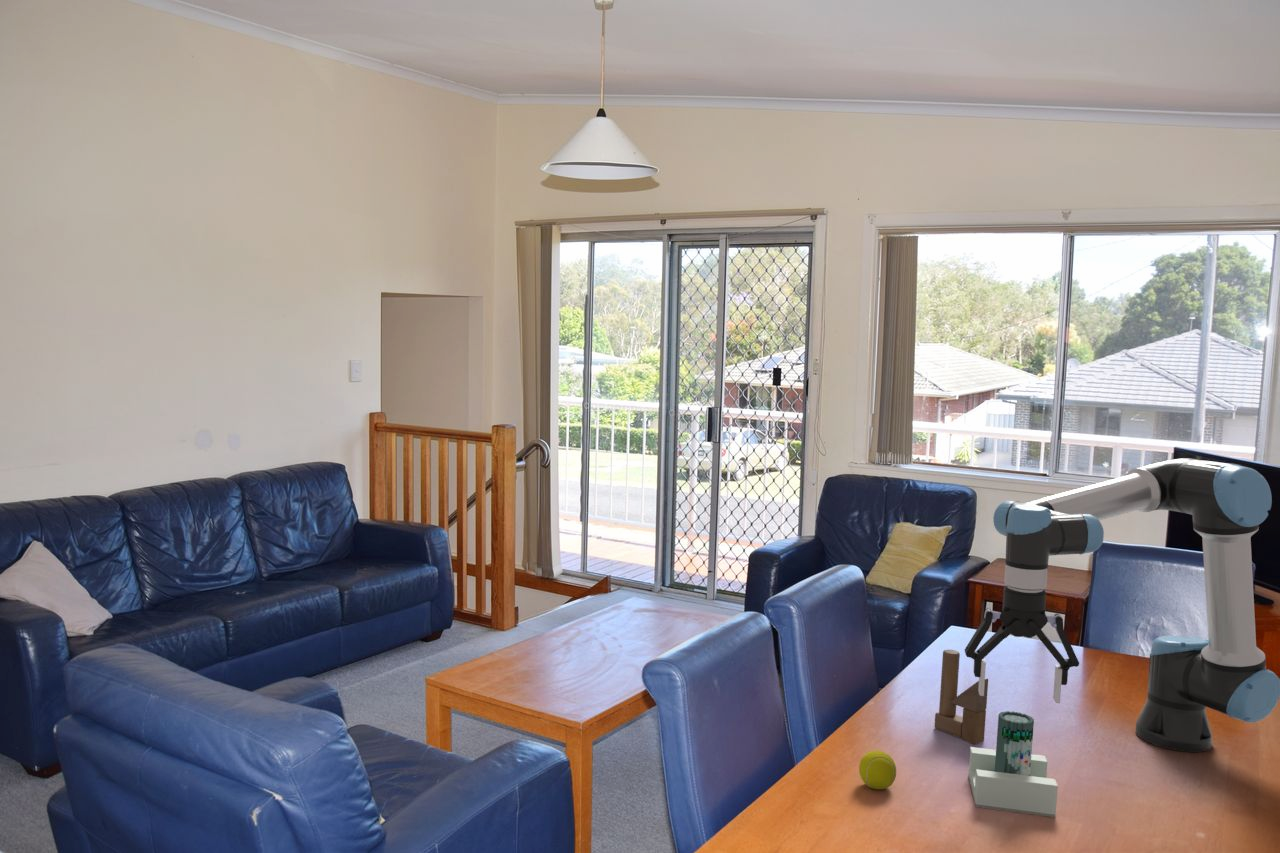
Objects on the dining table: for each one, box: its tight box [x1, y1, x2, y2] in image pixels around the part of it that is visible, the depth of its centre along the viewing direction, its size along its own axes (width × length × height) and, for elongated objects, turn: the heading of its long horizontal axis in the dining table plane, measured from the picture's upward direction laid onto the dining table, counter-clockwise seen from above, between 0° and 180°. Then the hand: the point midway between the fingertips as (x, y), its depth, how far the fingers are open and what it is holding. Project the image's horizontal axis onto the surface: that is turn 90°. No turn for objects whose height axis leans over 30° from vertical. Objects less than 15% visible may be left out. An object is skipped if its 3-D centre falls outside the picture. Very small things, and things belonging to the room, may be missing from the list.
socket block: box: [967, 746, 1059, 818], centre depth 193 cm, size 14×14×6 cm
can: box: [995, 710, 1035, 776], centre depth 193 cm, size 6×6×15 cm
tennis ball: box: [858, 750, 897, 790], centre depth 195 cm, size 7×7×7 cm
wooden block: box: [934, 649, 989, 745], centre depth 222 cm, size 4×11×18 cm, turn 35°
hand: (1018, 697), depth 192 cm, fingers open, 13 cm apart
